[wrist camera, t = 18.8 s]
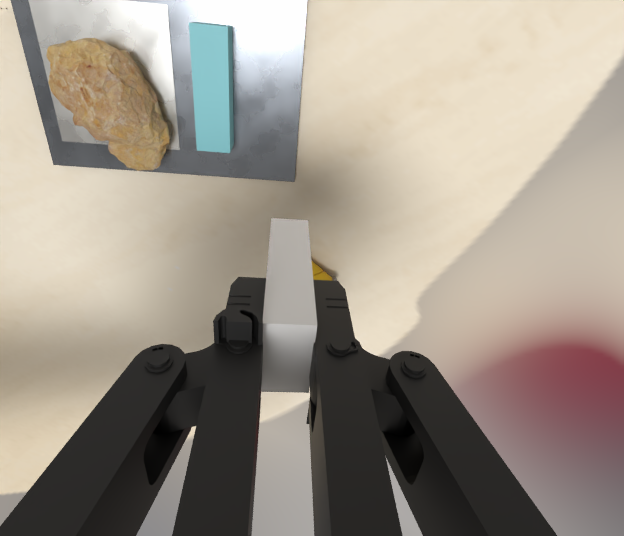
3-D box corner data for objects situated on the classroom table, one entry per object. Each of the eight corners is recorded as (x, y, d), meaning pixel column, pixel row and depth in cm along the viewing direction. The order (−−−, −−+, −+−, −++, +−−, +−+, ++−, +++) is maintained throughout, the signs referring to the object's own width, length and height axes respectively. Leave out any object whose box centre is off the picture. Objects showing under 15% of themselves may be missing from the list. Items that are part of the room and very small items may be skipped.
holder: (58, 161, 40) (52, 165, 39) (4, -51, 31) (-5, -53, 30) (294, 178, 43) (294, 182, 42) (307, -16, 34) (308, -17, 33)
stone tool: (8, 55, 29) (127, 131, 30) (77, 2, 32) (185, 73, 32) (53, 131, 37) (145, 189, 38) (104, 85, 40) (189, 140, 41)
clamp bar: (202, 141, 39) (196, 150, 36) (196, 21, 34) (188, 22, 31) (233, 144, 39) (230, 153, 37) (232, 25, 34) (227, 26, 31)
